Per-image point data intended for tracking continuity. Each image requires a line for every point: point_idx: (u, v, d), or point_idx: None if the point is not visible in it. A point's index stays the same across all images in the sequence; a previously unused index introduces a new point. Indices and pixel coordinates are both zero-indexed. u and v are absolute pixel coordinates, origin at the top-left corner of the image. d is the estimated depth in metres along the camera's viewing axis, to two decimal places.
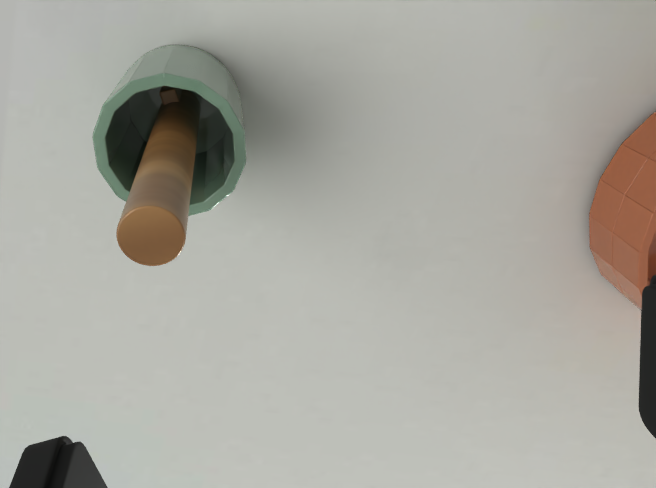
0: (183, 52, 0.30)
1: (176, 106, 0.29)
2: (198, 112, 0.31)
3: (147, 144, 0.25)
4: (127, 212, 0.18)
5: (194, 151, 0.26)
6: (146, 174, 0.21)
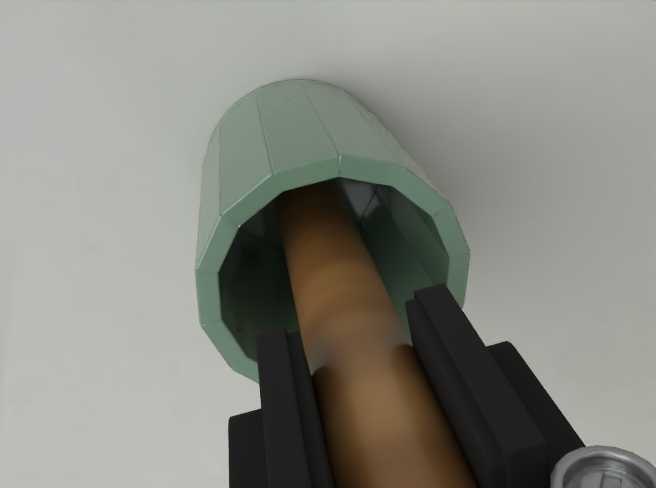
0: (322, 96, 0.18)
1: (319, 191, 0.17)
2: None
3: (308, 293, 0.13)
4: None
5: None
6: (383, 437, 0.09)
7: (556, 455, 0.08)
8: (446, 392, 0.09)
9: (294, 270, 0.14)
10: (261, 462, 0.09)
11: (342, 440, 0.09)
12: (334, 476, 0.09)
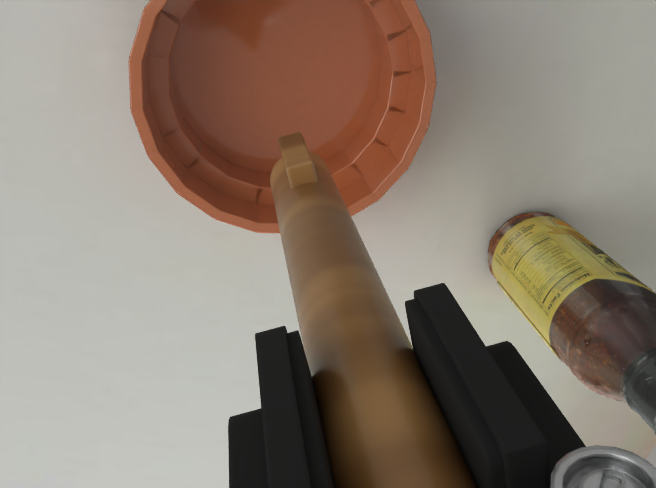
0: None
1: (320, 194, 0.17)
2: None
3: (309, 297, 0.13)
4: None
5: None
6: (384, 443, 0.09)
7: (556, 455, 0.08)
8: (446, 392, 0.09)
9: (294, 273, 0.14)
10: (261, 462, 0.09)
11: (343, 445, 0.09)
12: (335, 481, 0.09)
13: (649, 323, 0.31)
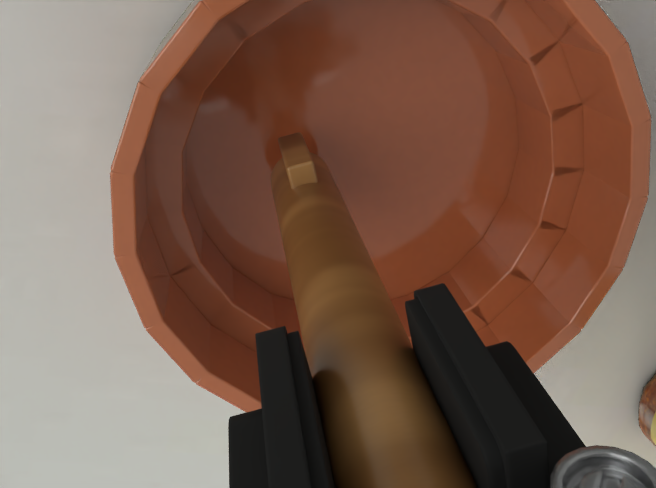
0: None
1: (320, 194, 0.17)
2: None
3: (309, 297, 0.13)
4: None
5: None
6: (385, 442, 0.09)
7: (556, 455, 0.08)
8: (446, 392, 0.09)
9: (295, 273, 0.14)
10: (262, 462, 0.09)
11: (343, 445, 0.09)
12: (335, 481, 0.09)
13: None
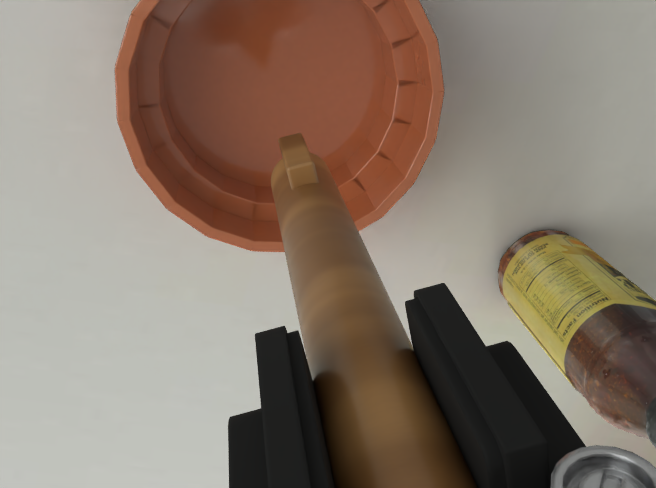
0: None
1: (320, 195, 0.17)
2: None
3: (310, 297, 0.13)
4: None
5: None
6: (385, 443, 0.09)
7: (556, 455, 0.08)
8: (446, 392, 0.09)
9: (295, 274, 0.14)
10: (261, 462, 0.09)
11: (344, 445, 0.09)
12: (336, 481, 0.09)
13: None
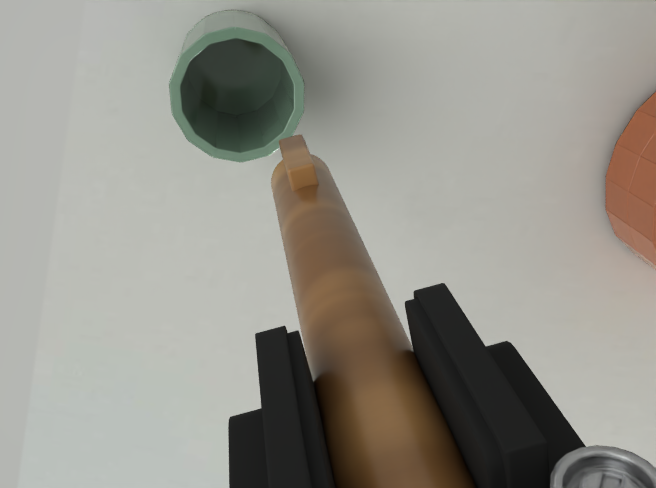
0: (242, 15, 0.33)
1: (321, 197, 0.17)
2: None
3: (310, 300, 0.13)
4: None
5: None
6: (386, 447, 0.09)
7: (556, 455, 0.08)
8: (446, 392, 0.09)
9: (296, 276, 0.14)
10: (261, 462, 0.09)
11: (345, 449, 0.09)
12: (337, 485, 0.09)
13: None
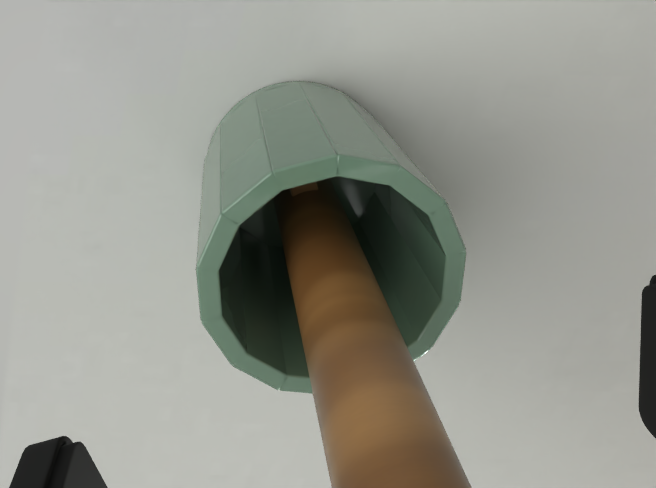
0: (321, 97, 0.18)
1: (320, 202, 0.17)
2: None
3: (309, 303, 0.13)
4: None
5: None
6: (381, 444, 0.09)
7: None
8: None
9: (295, 280, 0.14)
10: None
11: (342, 446, 0.09)
12: (334, 481, 0.09)
13: None
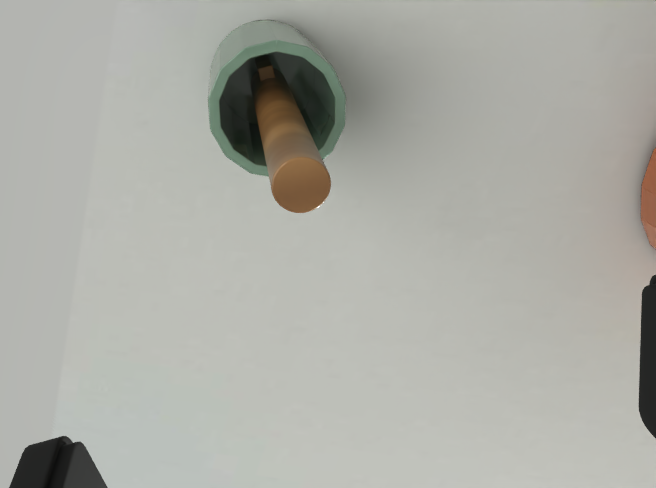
0: (277, 25, 0.32)
1: (275, 81, 0.31)
2: None
3: (263, 112, 0.27)
4: (282, 163, 0.20)
5: None
6: (283, 134, 0.23)
7: None
8: None
9: (258, 109, 0.28)
10: None
11: (269, 141, 0.23)
12: (265, 153, 0.23)
13: None
